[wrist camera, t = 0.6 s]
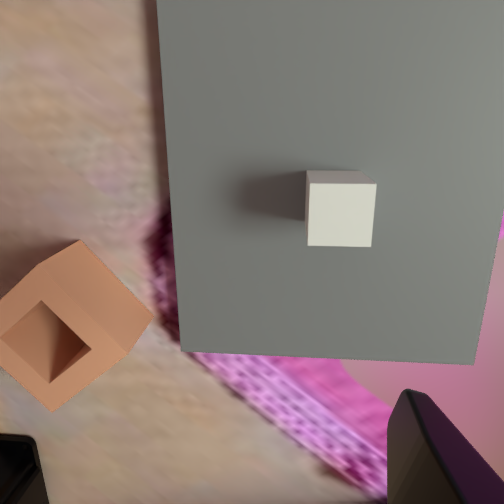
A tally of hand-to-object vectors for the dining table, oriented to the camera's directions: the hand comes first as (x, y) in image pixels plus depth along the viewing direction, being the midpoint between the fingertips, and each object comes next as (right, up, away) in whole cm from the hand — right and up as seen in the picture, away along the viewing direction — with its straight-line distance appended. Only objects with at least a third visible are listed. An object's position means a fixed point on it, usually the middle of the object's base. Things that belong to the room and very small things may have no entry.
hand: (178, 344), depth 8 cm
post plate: (+5, +5, +12) cm, 14 cm away
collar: (-8, -1, +16) cm, 18 cm away
